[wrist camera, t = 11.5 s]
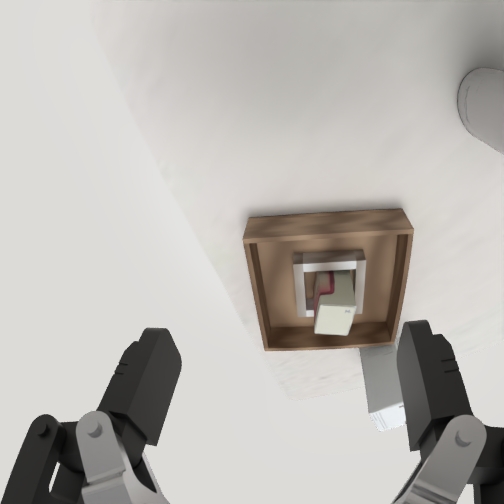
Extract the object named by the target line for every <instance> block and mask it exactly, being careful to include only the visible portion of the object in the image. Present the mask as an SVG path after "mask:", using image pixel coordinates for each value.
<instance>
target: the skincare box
mask: <svg viewBox="0 0 504 504" xmlns="http://www.w3.org/2000/svg"><path fill="white" fill-rule="evenodd" d="M359 350H360V356H361V362H362V369H363V375H364V381H365V388H366V395H367V402H368V410H369V415H370V417H371V419H372V421H373V422H374V424H375V425H376V427H377V429H378V430H379V431H380V432H381V431H385V430H388V429H392V428H395V427H398V426H401V425H404V424H407V423H406V416H405V410H404V404H403V398H402V392H401V386H400V381H399V375H398V370H397V361H396V358H397V350H398V344H397V341H396V338H395V342H394V344H391V345H381V346H369V347H359Z"/></svg>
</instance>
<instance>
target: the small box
mask: <svg viewBox="0 0 504 504" xmlns="http://www.w3.org/2000/svg"><path fill="white" fill-rule="evenodd" d="M313 298H314V333H315V334H330V335H345V336H346V335H348V333H349V330H350V327H351V324H352V321H353V318H354V314H355V311H356V308H357V306H356V301H355V296H354V290H353V285H352V279H351V274H350V269H348V270H331V271H316V276H315V282H314V290H313Z"/></svg>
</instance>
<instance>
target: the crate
mask: <svg viewBox="0 0 504 504" xmlns="http://www.w3.org/2000/svg"><path fill="white" fill-rule="evenodd" d="M413 233H414V228H413V227H412V225H411V223H410V221H409V220H408V218H407V216H406V214H405V213H404V211H403V209H383V210H362V211H344V212H326V213H310V214H295V215H281V216H267V217H254V218H249V219H248V222H247V226H246V229H245V233H244V236H243V243H244V249H245V254H246V259H247V264H248V269H249V274H250V279H251V284H252V290H253V295H254V300H255V305H256V310H257V315H258V320H259V325H260V330H261V335H262V340H263V345H264V350H265V351H296V350H322V349H341V348H356V347H369V346H381V345H391V344H394V342H395V338H396V333H397V329H398V324H399V320H400V315H401V310H402V305H403V299H404V294H405V288H406V283H407V276H408V270H409V263H410V256H411V249H412V241H413ZM348 269H350V274H351V279H352V285H353V290H354V296H355V301H356V306H357V308H356V311H355V314H354V318H353V321H352V324H351V327H350V330H349V333H348V335H346V336H345V335H330V334H315V333H314V298H313V290H314V282H315V276H316V271H331V270H348Z"/></svg>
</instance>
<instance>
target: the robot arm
mask: <svg viewBox="0 0 504 504" xmlns="http://www.w3.org/2000/svg"><path fill="white" fill-rule="evenodd" d="M458 110H459V114H460V117H461V120H462V122H463V124H464V126H465V127H466V129H467V130H468V131H469V132H470V133H471V134H472V135H473V136H474V137H476V138H478V139H479V140H481V141H483V142H484V143H486V144H487V145H489V146H491V147H492V148H494V149H495V150H497V151H498V152H500V153H501V154H503V155H504V71H502V70H496V69H490V68H478V69H475V70H473V71H471V72H470V73H469V74H468V75H467V76H466V77H465V78H464V79H463V82H462V84H461V86H460V89H459V93H458ZM396 361H397V370H398V375H399V381H400V386H401V392H402V398H403V404H404V410H405V416H406V423H407V430H408V437H409V446H410V451H417V450H420V455H421V460H420V461H419V463H418V465H417V466H416V468H415V470H414V471H413V473H412V474H411V476H410V477H409V479H408V480H407V482H406V483H405V485H404V486H403V488H402V489H401V490H400V492H399V493H398V495H397V496H396V497H395V499H394V500H393V502H392V503H391V504H456V503H457V501H458V498H459V497H460V495H461V493H462V491H463V489H464V487H465V485H466V484H473V487H474V504H504V428H500V427H490V426H486V425H484V424H483V423H482V422H481V421H480V420H479V419H478V418H476V417H475V416H474V415H473V413H472V411H471V407H470V404H469V400H468V397H467V393H466V390H465V386H464V383H463V380H462V377H461V373H460V372H459V367H458V364H457V361H456V360H455V355H454V352H453V349H452V346H451V344H450V343H449V342H448V341H447V340H446V339H445V337H444V336H443V335H442V334H436V335H433V334H432V331H431V328H430V325H429V323H428V321H427V320H418V321H409V322H405V323H404V325H403V329H402V333H401V338H400V342H399V346H398V350H397V358H396ZM181 363H182V361H181V356H180V353H179V351H178V349H177V347H176V345H175V343H174V341H173V339H172V336H171V334H170V332H169V331H168V330H167V329H166V328H146V329H145V330H144V331H143V333H142V336H141V337H140V339H139V342H138V341H134V342H133V343H132V344H131V345H130V346H129V347H128V348H127V349H126V350H125V351H124V353H123V355H122V357H121V360H120V362H119V365H118V366H117V368H116V370H115V374H114V375H113V376H112V378H111V380H110V383H109V385H108V387H107V389H106V391H105V394H104V396H103V398H102V400H101V402H100V404H99V407H98V408H97V410H96V411H92V412H89V413H87V414H85V415H84V416H83V417H82V418H81V419H80V420H79V421H76V422H62V423H59V422H58V421H57V420H56V419H55V418H54V417H53V416H51V415H48V414H44V415H41V416H39V417H37V418H36V419H35V420H34V421H33V422H32V424H31V426H30V428H29V430H28V433H27V435H26V437H25V440H24V442H23V444H22V447H21V449H20V452H19V454H18V457H17V459H16V462H15V465H14V467H13V470H12V472H11V475H10V478H9V481H8V484H7V486H6V489H5V493H4V496H3V498H2V501H1V504H170V503H169V502H168V501H167V499H166V498H165V497H164V495H163V494H162V492H161V490H160V487H159V485H158V483H157V481H156V479H155V476H154V474H153V472H152V469H151V467H150V465H149V462H148V461H147V458H146V455H145V453H144V452H143V450H144V447H145V444H148V445H153V446H157V443H158V440H159V437H160V433H161V430H162V427H163V424H164V421H165V418H166V415H167V412H168V408H169V405H170V402H171V399H172V396H173V393H174V390H175V386H176V384H177V381H178V378H179V375H180V372H181V366H182V364H181ZM57 462H58V463H60V466H59V469H58V472H57V475H56V478H55V481H54V484H53V487H52V490H51V492H49V484H50V481H51V478H52V475H53V472H54V469H55V466H56V464H57Z"/></svg>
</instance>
